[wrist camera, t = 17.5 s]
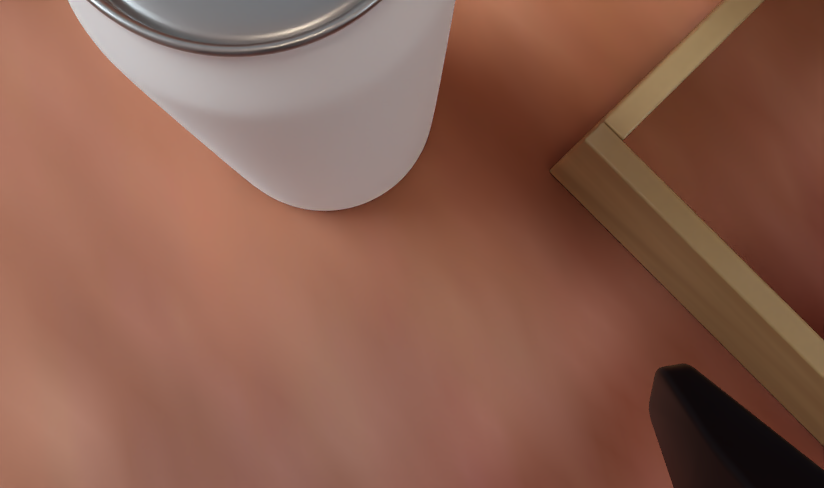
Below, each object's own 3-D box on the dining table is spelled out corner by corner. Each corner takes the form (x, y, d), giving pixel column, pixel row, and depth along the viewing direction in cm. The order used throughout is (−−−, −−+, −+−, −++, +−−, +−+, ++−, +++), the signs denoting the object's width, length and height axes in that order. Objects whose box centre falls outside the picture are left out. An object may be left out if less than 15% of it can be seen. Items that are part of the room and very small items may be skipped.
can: (240, -9, 21) (41, -410, 9) (447, 23, 21) (511, -334, 9) (202, 196, 21) (-61, 44, 9) (415, 229, 21) (440, 123, 9)
